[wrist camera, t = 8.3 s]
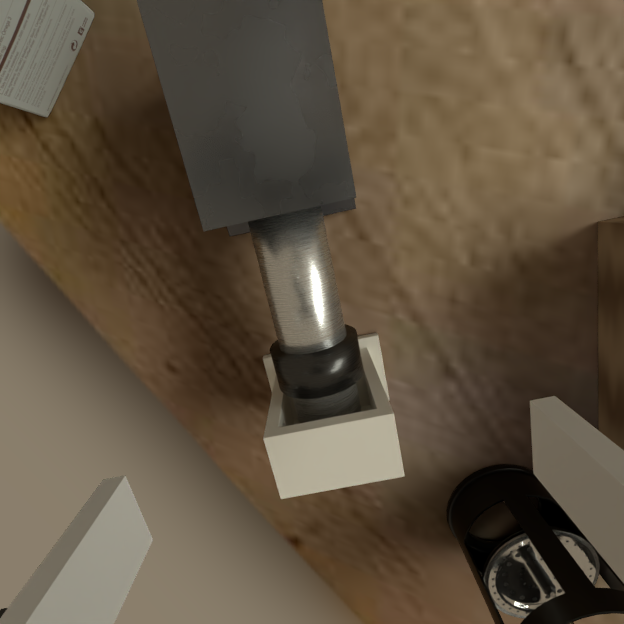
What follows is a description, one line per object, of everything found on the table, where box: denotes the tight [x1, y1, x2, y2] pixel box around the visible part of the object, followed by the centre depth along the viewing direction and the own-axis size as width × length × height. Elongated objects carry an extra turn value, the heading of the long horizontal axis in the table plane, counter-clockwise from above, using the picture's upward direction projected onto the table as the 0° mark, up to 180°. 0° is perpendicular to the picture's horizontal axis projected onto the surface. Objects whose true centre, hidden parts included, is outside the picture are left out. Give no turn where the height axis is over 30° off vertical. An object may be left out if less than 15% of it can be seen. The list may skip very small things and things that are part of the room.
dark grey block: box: [137, 0, 356, 236], centre depth 20 cm, size 11×9×10 cm
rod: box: [248, 205, 364, 424], centre depth 21 cm, size 16×5×5 cm, turn 12°
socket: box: [263, 333, 405, 499], centre depth 25 cm, size 6×9×10 cm, turn 102°
